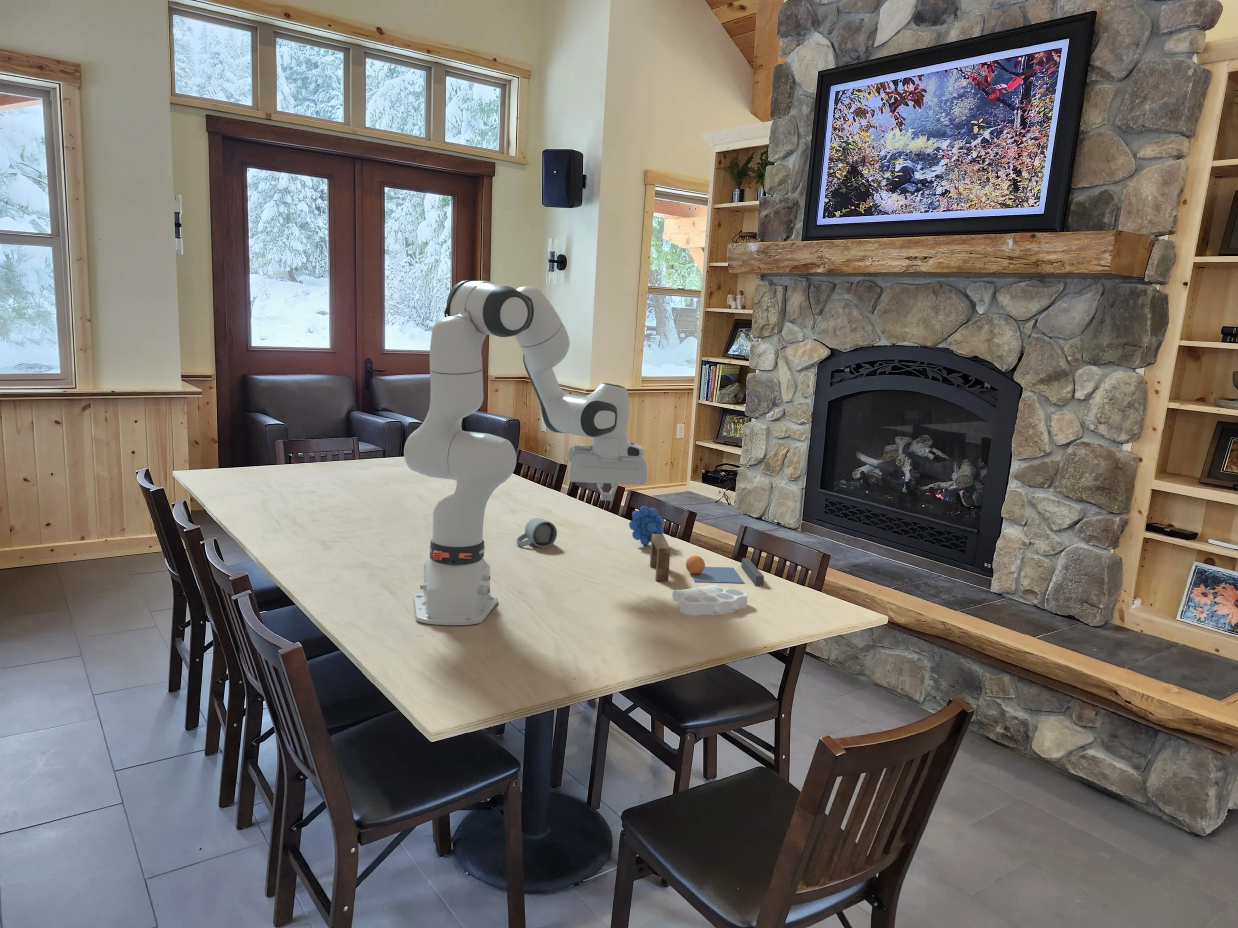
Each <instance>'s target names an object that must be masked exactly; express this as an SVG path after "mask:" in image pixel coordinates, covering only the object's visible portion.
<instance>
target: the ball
mask: <svg viewBox="0 0 1238 928" xmlns="http://www.w3.org/2000/svg"><path fill="white" fill-rule="evenodd" d="M705 562H706V561H705V560H704V559H703V558H702V557H701V556H699V555H692V556H690V557H688V558H687V560H686V563H685V568H686V570H687V572H688V573H691V574H695V575H696V574H700V573H701V572H702V571H703V570H704V568H705V567H706V563H705ZM691 574H690V575H691Z"/></svg>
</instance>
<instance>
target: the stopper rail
mask: <svg viewBox="0 0 1238 928" xmlns="http://www.w3.org/2000/svg"><path fill="white" fill-rule="evenodd" d="M740 567H741V569H742V570H743V572H744V573H745V574H746V575H747V577H748V578H749V580H750V581H751V582H752V583H753V584H754V586H756V587H757V586H758V587H760V586H761V587H763V586H764V578H765V576H764V575H763V573H762V572H760V569H758V568H757V566H756V565H755V564H754V563H753V562H752V560H751V559H750V558H745V557H743V558H741V565H740Z"/></svg>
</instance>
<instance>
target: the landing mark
mask: <svg viewBox="0 0 1238 928" xmlns="http://www.w3.org/2000/svg"><path fill="white" fill-rule="evenodd" d="M689 573H690V572H689ZM690 576H691V578H692V579H693V581H694V582H695V583H713V584H715V583H718V584H719V583H720V584H745V581H744V580H743V578H742V577H741V576H740V575H739V573H738V572H737V570H736V569H735V568H734V567H727V566H726V567H725V566H722V567H721V566H705V568H704V570H703V571H702V572H701V573H700V574H696V575H695V574H691V573H690Z"/></svg>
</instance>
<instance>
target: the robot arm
mask: <svg viewBox="0 0 1238 928" xmlns="http://www.w3.org/2000/svg"><path fill="white" fill-rule="evenodd" d="M445 305H446V307H445V309H444V312H443V316H444V317H443V318H441V319H439V320H438V321H436V322H435V324H434V325H433V327H432V330H431V337H430V346H429V347H430V348H429V374H430V375H429V377H430V378H429V379H430V384H429V385H430V398H429V400H430V402H429V407H428V408H429V409H428V412H427V414H426V416H425V418H424V421H423V422H422V423H421V425H419V427H418V428H416V429H415V430H414V431H413V432H412V433H410V434H409V436H408V437H407V439H406V441H405V443H404V447H403V456H404V461H405V463H406V465H407V467H408V468H409V469H410V471H413V472H415V473H417V474H421V475H424V476H427V477H430V478H435V479H437V478H438V479H446V480H452V481H453V480H454V481H456V488H455V491H454V493H452V494H449V495H448V496H445V497H442V498H441V499H440V500H438V502H437V503H436V504H435V506H434V508H433V511H432V538H431V540H430V542H429V543H430V544H429V559H428V560H427V561H425V562H424V563H423V583H421V584H420V586H419V587H420V591H423V592H418V593H415V594H413V599H412V600H413V606H414V607H413V608H414V615H415V616H414V617H415V620H416V622H418V623H419V622H420V623H423V624H429V625H437V626H438V625H439V626H469V625H476V624H482V623H483V622H484V621H485V620H486V618H487V616H488V615H490V612H492V610H493V609H494V608H495V606H496V605H497V604H498V602H499V599H498V598H499V597H498V596H497V595H494V594H491V565H489V563H488V562H487V561H486V560H485V558H484V557H485V550H486V548H485V547H486V546H485V540H484V538H483V536H484V532H483V531H484V520H485V511H486V507H487V503H488V501H489V499H490V497H491V495H492V494H493V493H494V491H495V490H496V489H497V488H498V487H499V486H500V485H501V484H504V483H505V482H507V480H508V479H509V478H510V477H511V476H512V474H513V473H514V472H515V469H516V466H517V453H516V450H515V448H514V447H515V446H513V444H512V443H511V441H510V440H508V439H507V438H506V439H505V438H503V437H502V436H497V435H495V434H492V433H486V432H484V433H483V432H477V431H476V432H475V431H467V430H463V429H462V428H463V427H462V423H463V419H464V418H466V417H468V416H471V415H473V414H474V413H476V412H477V411H478V410H479V409H480V408H481V406H482V405H483V401H484V378H483V377H484V376H483V375H484V374H483V373H484V372H483V371H484V370H483V357H482V349H483V344H484V341H485V340H486V337H487V335H489V336H496V337H498V338H509V337H514V338H515V340H516V341H517V343H518V345H519V347H520V348H521V351H522V353H523V354H522V360H523V361H522V362H523V365H524V369H525V371H526V374H527V375H528V378H529V381H530V383H531V386H532V388H533V390H534V392H535V395H536V397H537V400H538V402H539V406H540V409H541V410H540V411H541V415H542V419H543V422H544V425H545V426H546V427H547V429H548V430H550V431H551V432H553V433H560V434H570V435H575V436H579V437H585V438H592V440H591V443H592V444H591V445H574V446H573V447H572V446H571V448H569V449H568V453H567V460H568V462H569V467H568V480H569V481H570V482H571V483H589V484H593V483H594V484H595V483H596V487H597V489H598V491H599V493H600V501H613V495H614V493H615V492H616V490H617V489H618V484H620V485H635V486H637V485H639V486H644V485H646V483H647V481H648V466H647V462H646V460H645V458H644V453H645V450H644V448H643V446H641V445H640V444H637V443H635V442H633V441H629V440H628V432H627V426H628V422H629V416H630V415H629V413H630V402H629V401H630V399H629V392H628V389H627V388H626V387H624V386H622V385H619V384H613V383H609V382H601V383H598V384H597V388H596V389H595V390H594V391H592V392H591V393H590V394H588V395H586V396H580V395H579V396H578V395H573V394H569V393H568V392H566V391H564V390H563V389H562V388H561V386H560V384H559V381H558V379H557V376H556V374H555V372H554V370H553V368H554V367H557V365H558V364H559V363H561V362H562V361H563V360H564V358H566V356H567V354H568V353H569V351H570V344H571V342H570V341H571V340H570V337H569V334H568V331H567V329H566V327H565V325H564V323H563V321H562V319H561V317H560V316H559V313H558V312H557V311H556V309H555V307H554V306H553V305H552V303H551V302H550V300H549V299H548V298H547V297H546V296H545V294H544V293H543V292H542V290H540V289H539V288H537V287H535V286H532V285H525V286H524V285H523V286H520V287H518V288H515V287H511V286H509V285H508V286H507V285H502V284H499V283H496V282H494V281H490V280H489V281H488V280H478V279H467V280H462V281H460V282H458V283H456V284H454V286H453V287H452V288H451V289H450V292H449V293H448V295H447V300H446V304H445ZM604 484H610V486H611V489H610V490H609V492H605V491H604V490H603V489H602V488H603V487H604Z"/></svg>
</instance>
